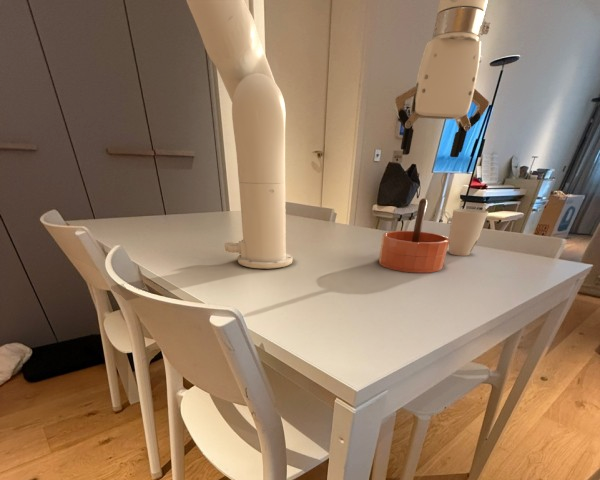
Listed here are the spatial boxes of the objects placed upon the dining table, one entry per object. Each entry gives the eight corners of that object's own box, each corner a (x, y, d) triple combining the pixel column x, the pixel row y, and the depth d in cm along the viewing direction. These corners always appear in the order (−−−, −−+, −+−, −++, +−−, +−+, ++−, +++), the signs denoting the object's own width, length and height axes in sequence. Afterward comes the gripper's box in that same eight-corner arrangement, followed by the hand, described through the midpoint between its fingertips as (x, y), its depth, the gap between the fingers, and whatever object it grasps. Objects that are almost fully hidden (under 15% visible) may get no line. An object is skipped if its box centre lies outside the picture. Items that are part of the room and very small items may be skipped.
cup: (480, 257, 86) (494, 213, 80) (448, 256, 86) (460, 212, 80) (468, 250, 92) (480, 209, 87) (438, 249, 92) (449, 208, 87)
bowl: (384, 271, 73) (389, 242, 70) (374, 256, 85) (378, 230, 81) (450, 273, 73) (459, 243, 69) (431, 257, 85) (438, 231, 81)
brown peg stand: (403, 264, 77) (415, 199, 69) (398, 258, 81) (410, 197, 73) (424, 264, 77) (438, 199, 69) (418, 259, 80) (432, 197, 73)
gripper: (497, 40, 60) (465, 158, 70) (401, 35, 60) (383, 153, 70) (518, 26, 54) (480, 158, 64) (410, 21, 54) (389, 153, 64)
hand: (429, 155), depth 67 cm, fingers open, 9 cm apart
